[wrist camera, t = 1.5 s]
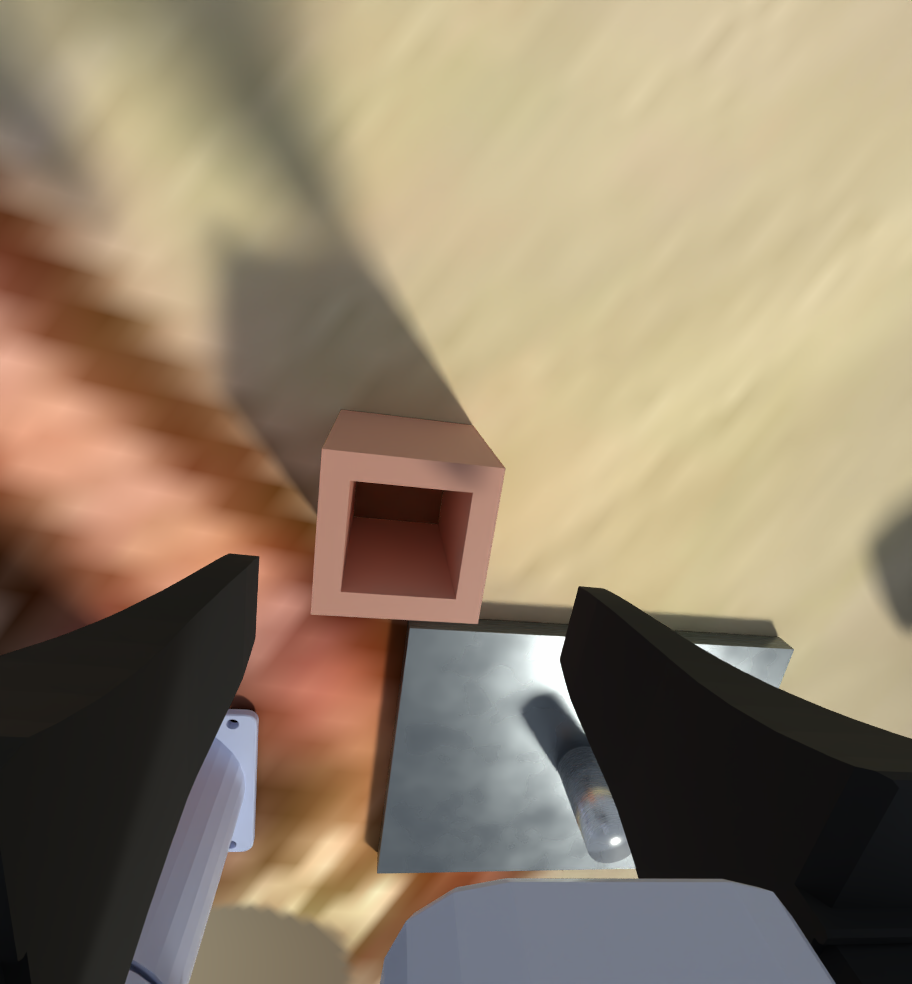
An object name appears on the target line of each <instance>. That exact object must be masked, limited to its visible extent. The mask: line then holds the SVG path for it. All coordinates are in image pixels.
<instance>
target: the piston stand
mask: <svg viewBox="0 0 912 984" xmlns="http://www.w3.org/2000/svg"><path fill="white" fill-rule="evenodd" d="M567 629H568V624H551V623H535V622H518V621H501V620H484V619H479V620H478V624H468V623H451V622H434V621H416V620H408V626H407V634H406V641H405V649H404V657H403V664H402V672H401V679H400V687H399V695H398V702H397V710H396V717H395V725H394V733H393V740H392V748H391V755H390V763H389V771H388V778H387V786H386V793H385V801H384V809H383V816H382V824H381V832H380V839H379V847H378V857H377V873H426V872H479V871H531V870H584V869H636V868H635V864H634V861H633V858H632V854H631V851H630V848H629V845H628V842H627V839H626V836H625V833H624V830H623V826H622V823H621V820H620V817H619V814H618V811H617V808H616V806H615V803H614V800H613V798H612V795H611V793H610V790H609V788H608V785H607V783H606V781H605V778H604V776H603V774H602V772H601V769H600V767H599V765H598V763H597V760H596V758H595V756H594V753H593V751H592V749H591V747H590V744H589V742H588V740H587V738H586V735H585V733H584V731H583V729H582V726H581V724H580V722H579V719H578V717H577V714H576V712H575V710H574V707H573V705H572V703H571V700H570V697H569V694H568V691H567V687H566V684H565V680H564V676H563V672H562V668H561V665H560V661H559V659H560V655H561V651H562V648H563V644H564V640H565V636H566V633H567ZM674 632H676V633H677V634H679V635H681V636H682V637H684V638H686V639H687V640H689V641H690V642H692V643H694V644H695V645H697V646H699V647H700V648H702V649H704V650H706V651H707V652H709V653H711V654H713V655H714V656H716V657H718V658H719V659H721V660H723V661H725V662H727V663H729V664H730V665H732V666H734V667H736V668H738V669H740V670H742V671H744V672H746V673H748V674H750V675H752V676H754V677H756V678H758V679H760V680H762V681H764V682H766V683H768V684H770V685H772V686H774V687H777V688H779V686H780V684H781V681H782V678H783V676H784V673H785V671H786V668H787V666H788V663H789V661H790V658H791V656H792V653H793V651H794V649H793V648H792V647H790V646H789V645H788V644H787V643H786V642H784V641H783V640H782V639H781V638H780V637H770V636H753V635H736V634H720V633H703V632H686V631H674Z"/></svg>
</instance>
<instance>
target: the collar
mask: <svg viewBox="0 0 912 984" xmlns="http://www.w3.org/2000/svg"><path fill="white" fill-rule="evenodd" d="M504 474H505V467H504V466H503V465H502V463H501V462H500V461H499V459H498V458H497V457H496V455H495V454H494V453H493V451H492V450H491V449H490V447H489V446H488V445H487V443H486V442H485V441H484V439H483V438H482V437H481V435H480V434H479V433H478V431H477V430H476V429H475V427H474V426H473V425H466V424H458V423H450V422H441V421H433V420H425V419H416V418H408V417H399V416H391V415H383V414H374V413H366V412H358V411H349V410H341V411H340V413H339V415H338V417H337V419H336V421H335V423H334V425H333V427H332V429H331V431H330V433H329V435H328V437H327V439H326V441H325V443H324V445H323V447H322V453H321V468H320V483H319V498H318V513H317V528H316V543H315V558H314V573H313V588H312V603H311V614H313V615H330V616H347V617H365V618H382V619H399V620H416V621H434V622H451V623H468V624H478V620H479V615H480V609H481V603H482V598H483V592H484V586H485V581H486V575H487V570H488V564H489V558H490V553H491V547H492V542H493V536H494V530H495V525H496V519H497V513H498V508H499V502H500V497H501V491H502V485H503V480H504ZM357 481H359V482H369V483H379V484H389V485H399V486H409V487H419V488H430V489H440V490H443V493H442V501H441V508H440V515H439V522H438V524H432V523H420V522H409V521H398V520H386V519H375V518H364V517H354V507H355V495H356V484H357Z"/></svg>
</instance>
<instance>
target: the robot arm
mask: <svg viewBox="0 0 912 984" xmlns="http://www.w3.org/2000/svg"><path fill="white" fill-rule="evenodd" d="M258 571H259V556H250V555H239V554H227V555H225V556H223V557H221V558H219V559H218V560H216V561H214V562H212V563H210V564H209V565H207V566H205V567H203V568H202V569H200V570H198V571H197V572H195V573H193V574H191V575H190V576H188V577H186V578H184V579H182V580H181V581H179V582H177V583H175V584H173V585H172V586H170V587H168V588H166V589H164V590H163V591H161V592H159V593H157V594H155V595H153V596H151V597H149V598H147V599H145V600H143V601H141V602H139V603H137V604H135V605H133V606H131V607H129V608H127V609H125V610H123V611H120V612H118V613H116V614H114V615H112V616H109V617H107V618H105V619H102V620H100V621H98V622H95V623H93V624H90V625H88V626H85V627H83V628H80V629H78V630H75V631H73V632H70V633H67V634H65V635H62V636H59V637H57V638H54V639H51V640H47V641H44V642H41V643H38V644H35V645H32V646H29V647H26V648H23V649H20V650H16V651H13V652H10V653H7V654H4V655H1V656H0V984H189V981H190V977H191V974H192V970H193V967H194V964H195V960H196V957H197V954H198V950H199V947H200V943H201V940H202V937H203V934H204V930H205V927H206V924H207V920H208V917H209V914H210V910H211V907H212V904H213V900H214V897H215V893H216V890H217V887H218V883H219V880H220V877H221V873H222V870H223V867H224V863H225V860H226V857H227V853H228V852H242V851H247V850H249V849H250V848H251V847H252V845H253V842H254V838H255V812H256V783H257V754H258V724H259V718H258V715H257V714H256V713H255V712H254V711H252V710H247V709H229V707H230V705H231V703H232V701H233V699H234V696H235V694H236V692H237V690H238V688H239V686H240V683H241V681H242V679H243V676H244V673H245V670H246V667H247V664H248V660H249V657H250V654H251V651H252V647H253V644H254V641H255V634H256V613H257V592H258ZM559 661H560V665H561V668H562V672H563V676H564V680H565V684H566V687H567V691H568V694H569V697H570V700H571V703H572V705H573V707H574V710H575V712H576V714H577V717H578V719H579V722H580V724H581V726H582V729H583V731H584V733H585V735H586V738H587V740H588V742H589V744H590V747H591V749H592V751H593V753H594V756H595V758H596V760H597V763H598V765H599V767H600V769H601V772H602V774H603V776H604V778H605V781H606V783H607V785H608V788H609V790H610V793H611V795H612V798H613V800H614V803H615V806H616V808H617V811H618V814H619V817H620V820H621V823H622V826H623V830H624V833H625V836H626V839H627V842H628V845H629V848H630V851H631V854H632V858H633V861H634V864H635V868H636V871H637V875H638V878H639V879H552V878H506V879H500V880H495V881H489V882H484V883H478V884H473V885H468V886H462V887H457V888H454V889H453V890H451V891H449V892H448V893H446V894H445V895H443V896H441V897H440V898H438V899H436V900H435V901H433V902H431V903H430V904H428V905H427V906H425V907H423V908H422V909H420V910H418V911H417V912H415V913H414V914H413V915H412V916H411V917H410V918H409V919H408V920H407V921H406V922H405V924H404V926H403V928H402V929H401V931H400V933H399V934H398V936H397V938H396V940H395V941H394V943H393V945H392V946H391V948H390V950H389V952H388V953H387V955H386V957H385V959H384V965H383V970H382V976H381V981H380V984H912V739H911V738H907V737H904V736H901V735H898V734H895V733H892V732H889V731H886V730H883V729H880V728H877V727H875V726H872V725H869V724H866V723H863V722H860V721H857V720H854V719H852V718H849V717H846V716H844V715H841V714H839V713H836V712H833V711H831V710H828V709H826V708H823V707H821V706H818V705H816V704H814V703H811V702H809V701H806V700H804V699H802V698H799V697H797V696H795V695H792V694H790V693H788V692H785V691H783V690H781V689H779V688H777V687H774V686H772V685H770V684H768V683H766V682H764V681H762V680H760V679H758V678H756V677H754V676H752V675H750V674H748V673H746V672H744V671H742V670H740V669H738V668H736V667H734V666H732V665H730V664H729V663H727V662H725V661H723V660H721V659H719V658H718V657H716V656H714V655H713V654H711V653H709V652H707V651H706V650H704V649H702V648H700V647H699V646H697V645H695V644H694V643H692V642H690V641H689V640H687V639H686V638H684V637H682V636H681V635H679V634H677V633H676V632H674V631H673V630H671V629H670V628H668V627H666V626H665V625H663V624H662V623H660V622H659V621H657V620H655V619H654V618H652V617H651V616H649V615H648V614H646V613H645V612H643V611H642V610H640V609H638V608H637V607H635V606H634V605H632V604H631V603H629V602H627V601H626V600H624V599H622V598H621V597H619V596H617V595H615V594H614V593H612V592H610V591H608V590H605V589H603V588H592V587H581V586H579V588H578V591H577V595H576V599H575V603H574V606H573V610H572V614H571V618H570V621H569V625H568V629H567V633H566V636H565V640H564V644H563V648H562V651H561V655H560V659H559ZM232 719H233V720H236V721H238V722H236V723H234V722H231V721H230V720H232Z"/></svg>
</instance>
